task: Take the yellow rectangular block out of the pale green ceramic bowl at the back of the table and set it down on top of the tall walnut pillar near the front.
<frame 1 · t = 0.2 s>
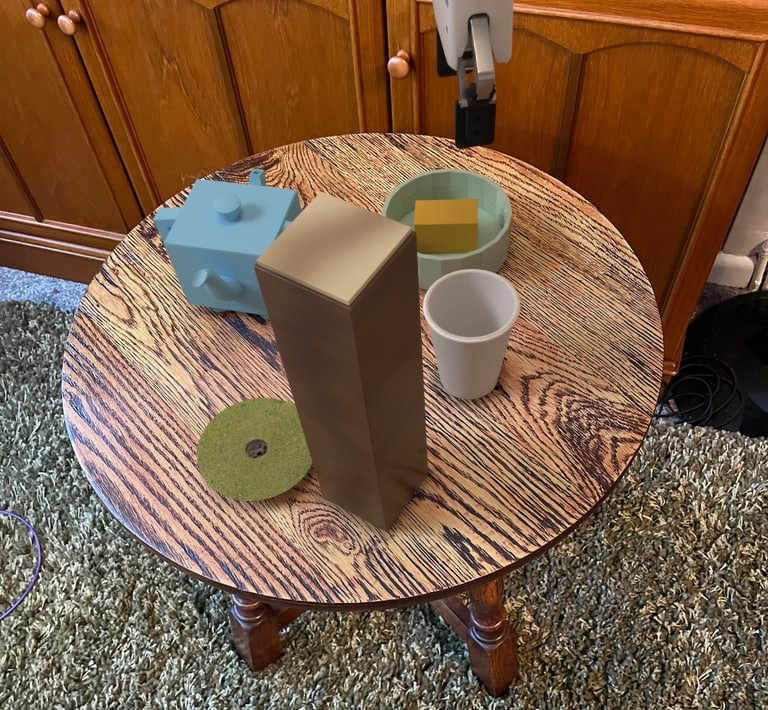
hand: (464, 107, 66), 18 cm above the table, tool pointing down, fingers open, 9 cm apart
mat: (261, 458, 73), on the table
bowl: (446, 245, 84), on the table
stand: (335, 248, 45), on the table
dixie cup: (468, 376, 75), on the table
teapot: (249, 293, 83), on the table
yellow rectangular block: (446, 241, 83), point 1 cm above the table, touching bowl
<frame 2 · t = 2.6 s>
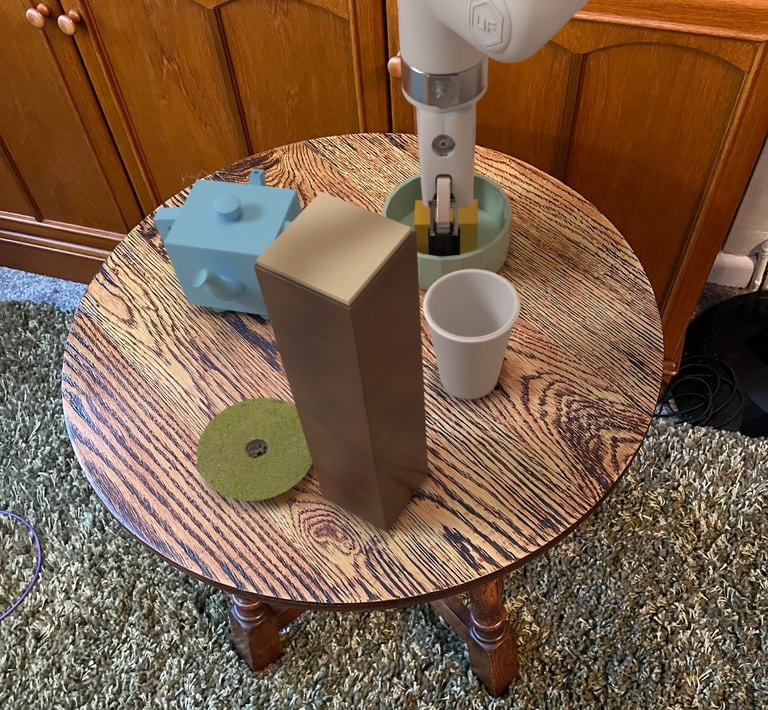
hand: (445, 229, 82), 2 cm above the table, tool pointing down, fingers open, 8 cm apart
nothing on the table moved.
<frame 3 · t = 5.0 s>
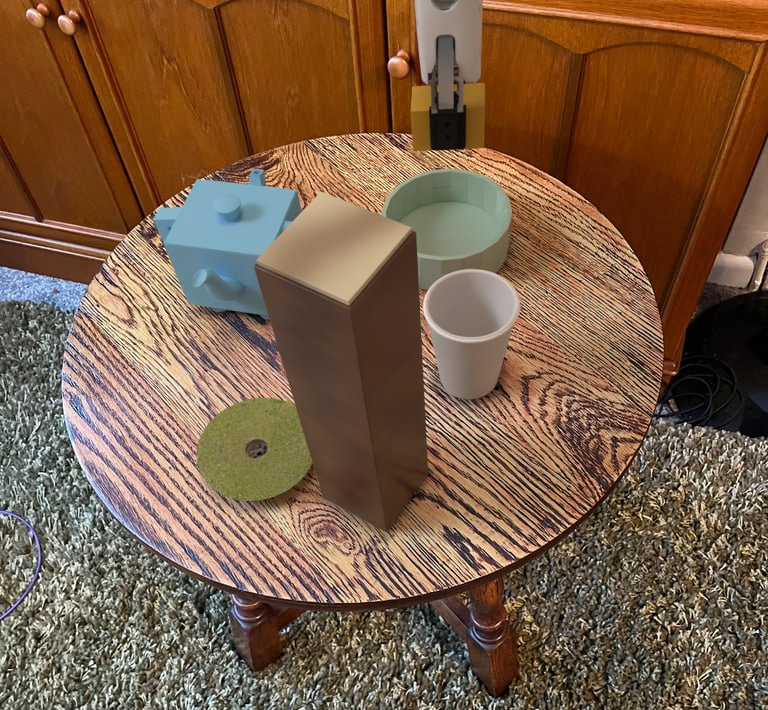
hand: (448, 130, 71), 14 cm above the table, tool pointing down, fingers closed on yellow rectangular block, 3 cm apart
yellow rectangular block: (448, 137, 72), point 13 cm above the table, touching gripper
everything else where it was.
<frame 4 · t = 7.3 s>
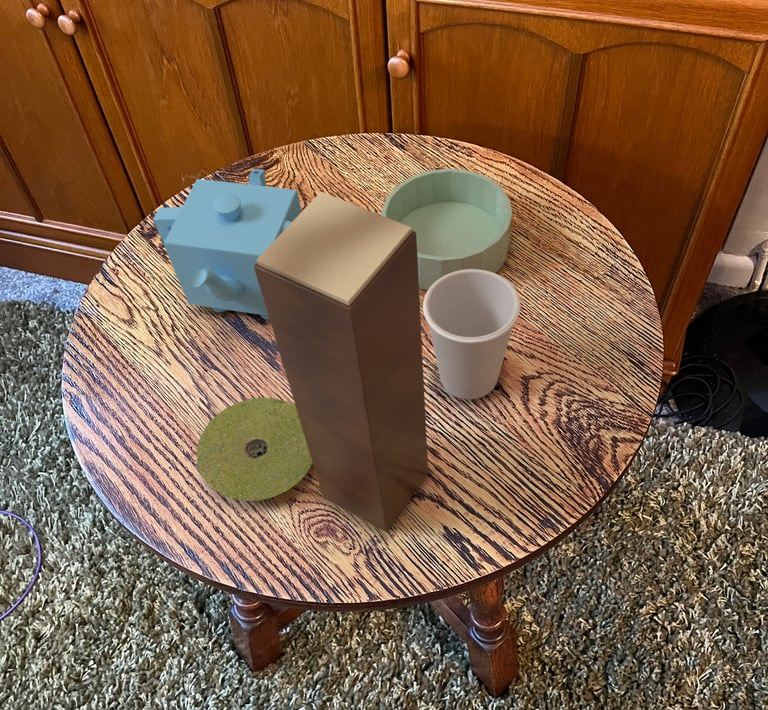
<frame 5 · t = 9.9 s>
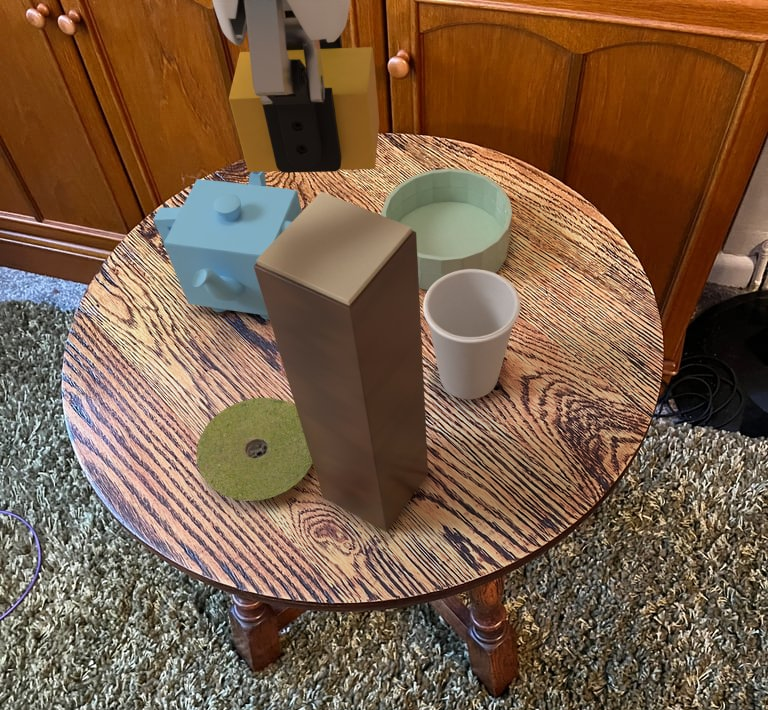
hand: (314, 136, 39), 35 cm above the table, tool pointing down, fingers closed on yellow rectangular block, 3 cm apart
yellow rectangular block: (314, 147, 40), point 35 cm above the table, touching gripper
everything else where it was.
when the fingers open (29 cm above the table, at t = 11.7 s): yellow rectangular block stays where it is, resting on stand.
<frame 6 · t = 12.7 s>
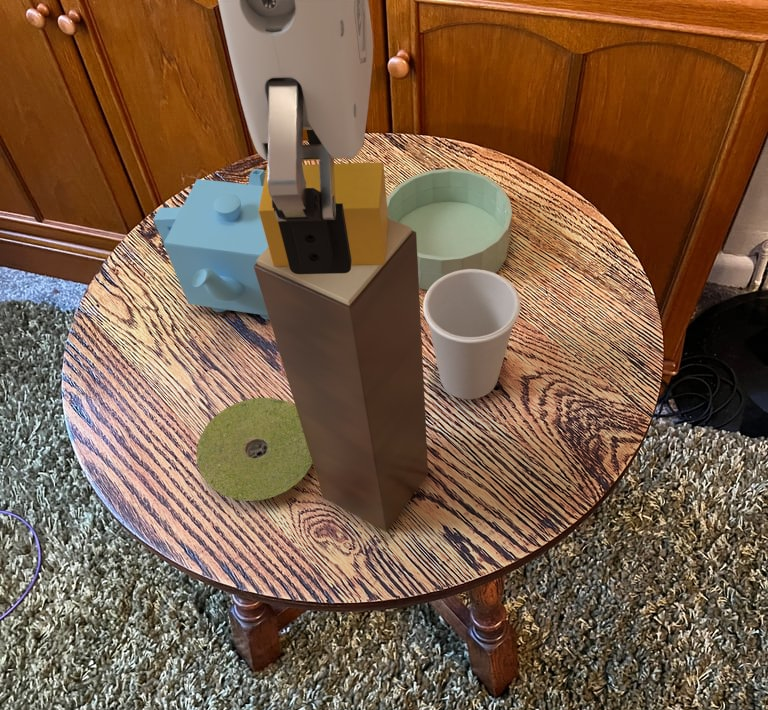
hand: (330, 205, 43), 31 cm above the table, tool pointing down, fingers open, 9 cm apart
yellow rectangular block: (331, 243, 45), point 28 cm above the table, touching stand
everything else where it was.
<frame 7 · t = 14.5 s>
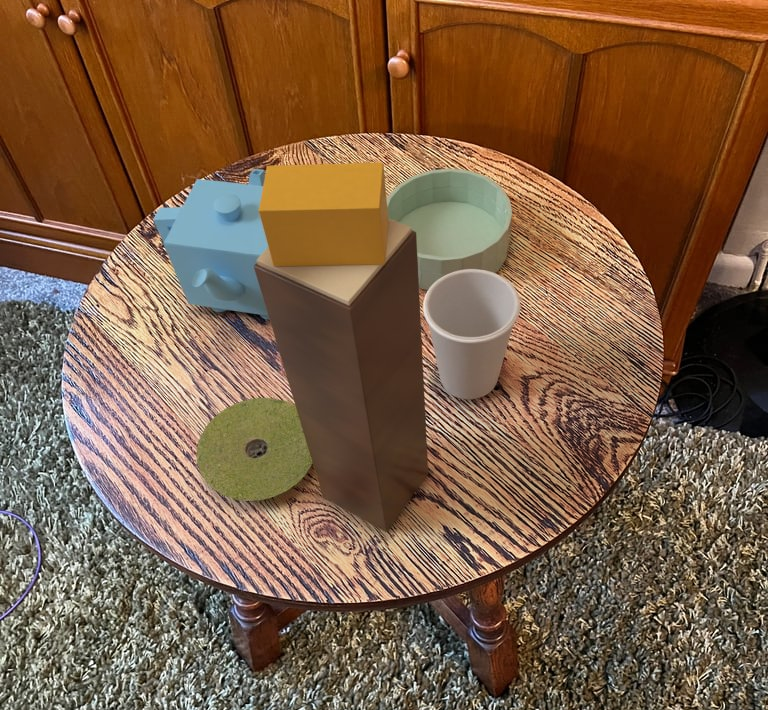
nothing on the table moved.
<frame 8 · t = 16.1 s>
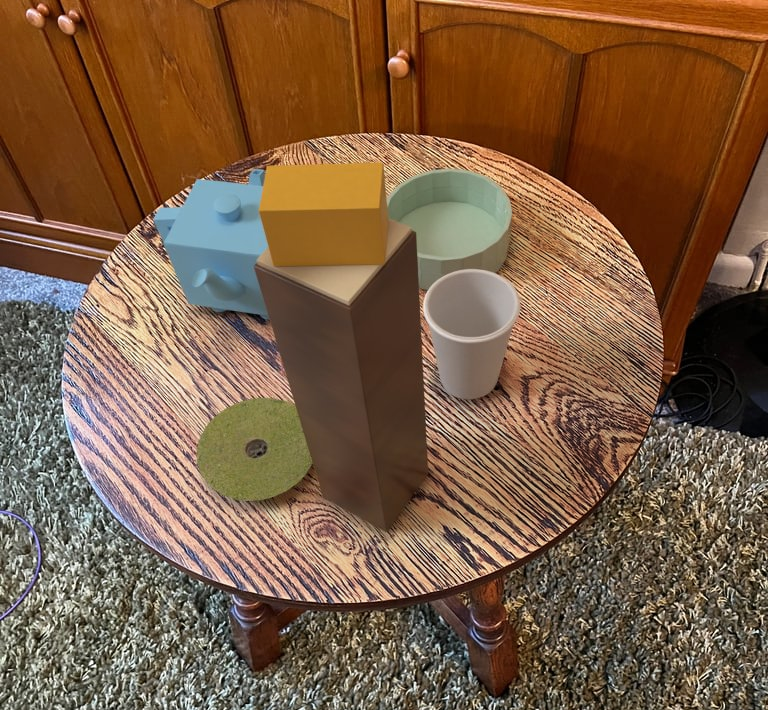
nothing on the table moved.
at the end: yellow rectangular block inside the target area on the stand (0.1 cm from its centre), point 0.4 cm above the stand's base; yellow rectangular block touching stand; the gripper is holding nothing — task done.
